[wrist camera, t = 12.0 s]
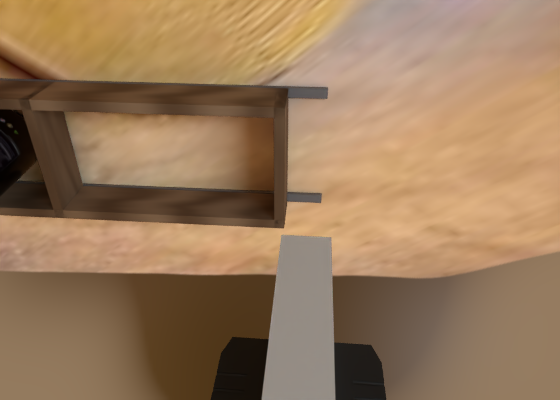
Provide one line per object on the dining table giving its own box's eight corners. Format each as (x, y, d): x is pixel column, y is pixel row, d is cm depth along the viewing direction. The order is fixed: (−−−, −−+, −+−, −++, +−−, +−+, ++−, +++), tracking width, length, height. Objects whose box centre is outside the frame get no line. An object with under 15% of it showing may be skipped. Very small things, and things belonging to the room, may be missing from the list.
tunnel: (330, 38, 34) (336, 129, 21) (319, 233, 44) (317, 379, 31) (-247, 26, 37) (-566, 99, 24) (-137, 212, 47) (-319, 337, 34)
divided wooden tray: (288, 88, 36) (285, 107, 33) (287, 201, 42) (284, 228, 39) (-71, 78, 38) (-108, 95, 35) (-25, 188, 44) (-53, 212, 40)
